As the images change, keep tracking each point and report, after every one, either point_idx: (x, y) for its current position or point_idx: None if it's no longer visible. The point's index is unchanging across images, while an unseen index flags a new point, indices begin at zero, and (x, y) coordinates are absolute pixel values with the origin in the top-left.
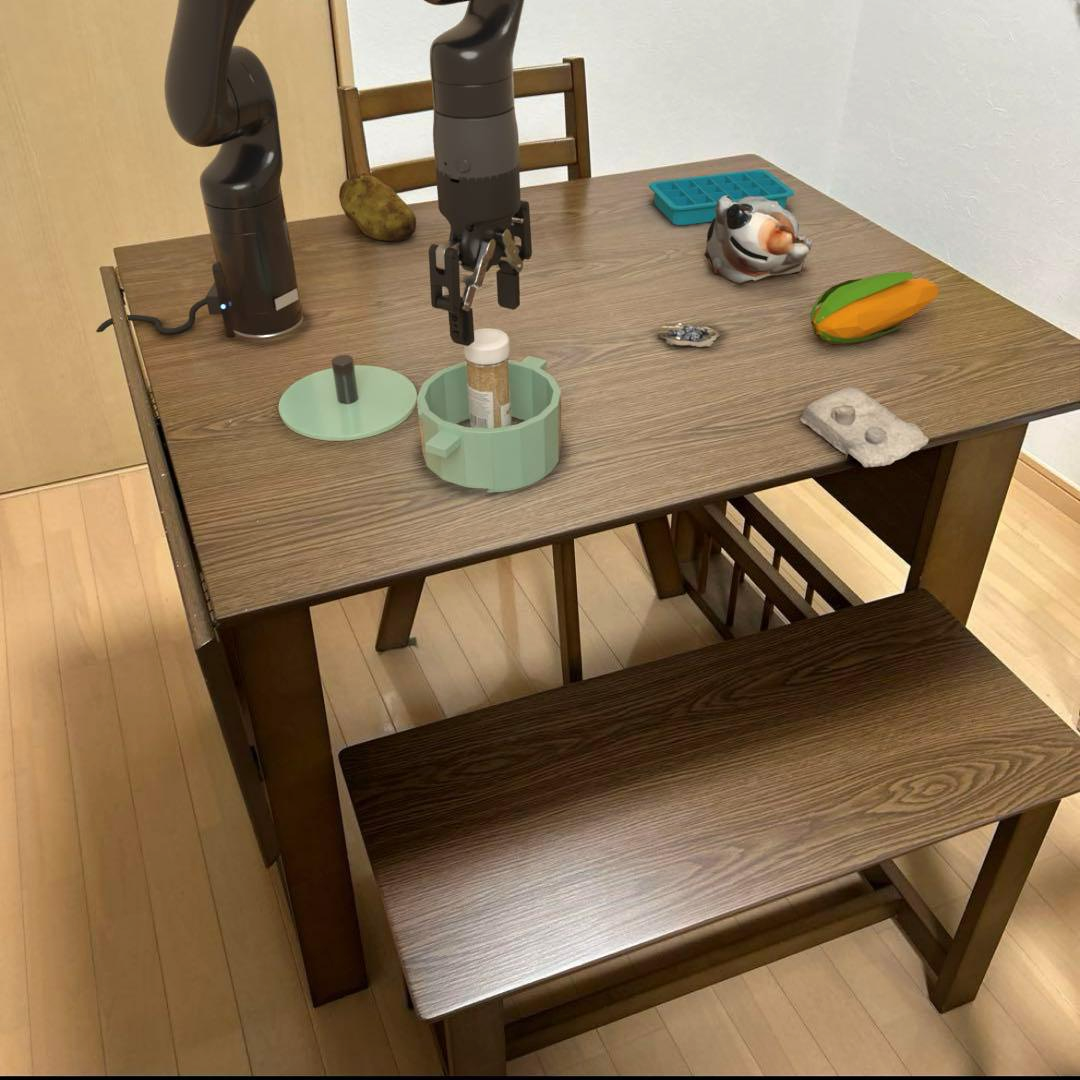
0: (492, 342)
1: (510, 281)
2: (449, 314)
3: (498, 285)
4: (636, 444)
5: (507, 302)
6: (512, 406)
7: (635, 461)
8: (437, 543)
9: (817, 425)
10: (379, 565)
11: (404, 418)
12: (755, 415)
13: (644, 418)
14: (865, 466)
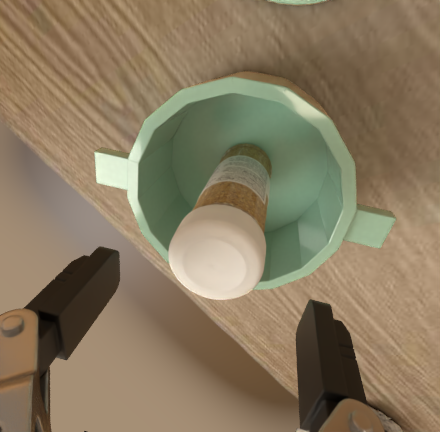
0: (199, 280)
1: (303, 396)
2: (29, 305)
3: (317, 348)
4: (303, 297)
5: (304, 327)
6: (329, 177)
7: (272, 299)
8: (80, 166)
9: None
10: (24, 125)
11: (280, 3)
12: (377, 376)
13: (358, 299)
14: (296, 429)
